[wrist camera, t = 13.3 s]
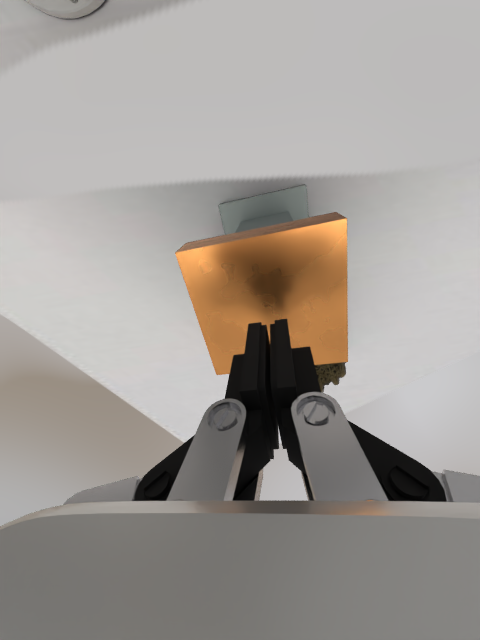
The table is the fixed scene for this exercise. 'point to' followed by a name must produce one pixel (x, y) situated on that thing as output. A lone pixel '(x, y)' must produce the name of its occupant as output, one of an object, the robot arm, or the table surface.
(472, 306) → the table surface
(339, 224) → the handle
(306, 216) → the press stand
